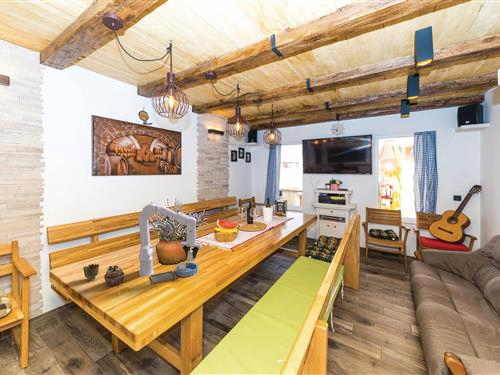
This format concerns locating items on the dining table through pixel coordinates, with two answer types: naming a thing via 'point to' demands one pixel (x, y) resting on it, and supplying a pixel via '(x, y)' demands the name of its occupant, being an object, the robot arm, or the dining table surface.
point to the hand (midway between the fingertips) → (191, 257)
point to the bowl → (187, 270)
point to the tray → (162, 277)
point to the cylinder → (190, 256)
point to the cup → (91, 271)
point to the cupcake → (113, 276)
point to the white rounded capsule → (182, 266)
